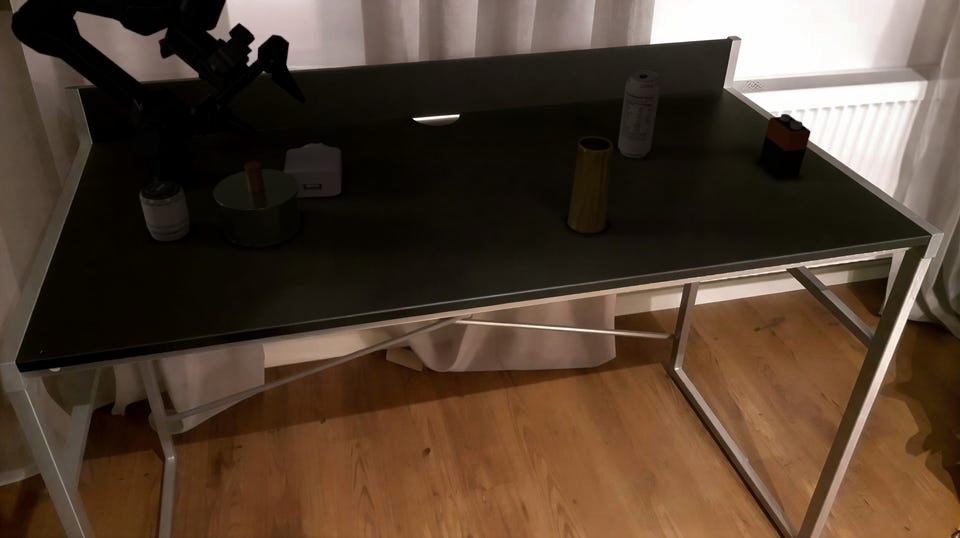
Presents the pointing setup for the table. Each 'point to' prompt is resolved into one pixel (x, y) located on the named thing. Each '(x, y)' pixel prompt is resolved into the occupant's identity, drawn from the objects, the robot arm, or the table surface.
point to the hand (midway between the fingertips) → (284, 120)
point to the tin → (261, 225)
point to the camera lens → (165, 210)
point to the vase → (590, 185)
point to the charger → (315, 169)
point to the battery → (784, 146)
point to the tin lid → (255, 189)
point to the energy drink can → (639, 113)
